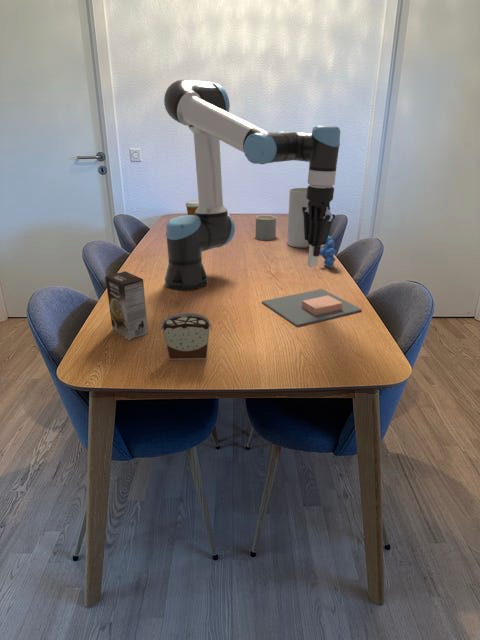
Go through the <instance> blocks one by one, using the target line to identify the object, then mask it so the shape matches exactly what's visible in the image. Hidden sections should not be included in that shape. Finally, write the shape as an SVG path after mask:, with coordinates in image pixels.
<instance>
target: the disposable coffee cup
mask: <svg viewBox="0 0 480 640" xmlns="http://www.w3.org/2000/svg"><path fill="white" fill-rule="evenodd" d="M185 207H186V212H187V215H195V211H196V209H197V208H198V207H199V200H187V201H186V202H185Z"/></svg>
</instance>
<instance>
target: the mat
mask: <svg viewBox="0 0 480 640" xmlns="http://www.w3.org/2000/svg"><path fill="white" fill-rule="evenodd" d="M327 295H329V296H331V297H332V298H334V299H336V300H338V301H340V302H342V310H337V311H333V312H329V313H324V314H320V315H316V316H315V315H314V314H312V313H310V312H309V311H307V310H305V309H304V308H302V301H304V300H309V299H313V298H318V297H323V296H327ZM261 304H263V306H266V307H267V308H269V309H270V310H271V311H273V312H274V313H276V314H277V315H279V316H280V317H282V318H283V319H285V320H286V321H288V322H289V323H290V324H292V325H294V326H295V327H297V328H298V327H302V326H305V325H310V324H313V323H318V322H323V321H326V320H330V319H335V318H339V317H343V316H347V314H348V315H351V313H352V314H356V313H359V312H358V311H360V312H362V310H363V309H362V308H360V307H358V306H357V305H355V304H353V303H350V302H348V301H347V300H345V299H343V298H341V297H339V296H337V295H335V294H333V293H331V292H329V291H327V290H325V289H323V288H320V289H314V290H310V291H304V292H299V293H295V294H289V295H286V296H285V295H284V296H281V297H275V298H271V299H265V300H262V301H261ZM355 312H356V313H355Z"/></svg>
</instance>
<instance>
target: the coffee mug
mask: <svg viewBox="0 0 480 640" xmlns="http://www.w3.org/2000/svg"><path fill="white" fill-rule="evenodd" d="M276 233H277V217H276V216H273V215H267V214H266V215H257V216H255V239H257V240H262V241H272V240H275V239H276V235H277V234H276Z"/></svg>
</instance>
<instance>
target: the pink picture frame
mask: <svg viewBox="0 0 480 640" xmlns="http://www.w3.org/2000/svg"><path fill="white" fill-rule="evenodd" d="M302 308H304V309H305V310H307V311H309V312H310V313H312V314H314V315H315V316H316V315H320V314H324V313H329V312H333V311H337V310H342V302H340V301H338V300H336V299H334V298H332V297H331V296H329V295H327V296H323V297H318V298H313V299H309V300H304V301H302Z"/></svg>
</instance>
